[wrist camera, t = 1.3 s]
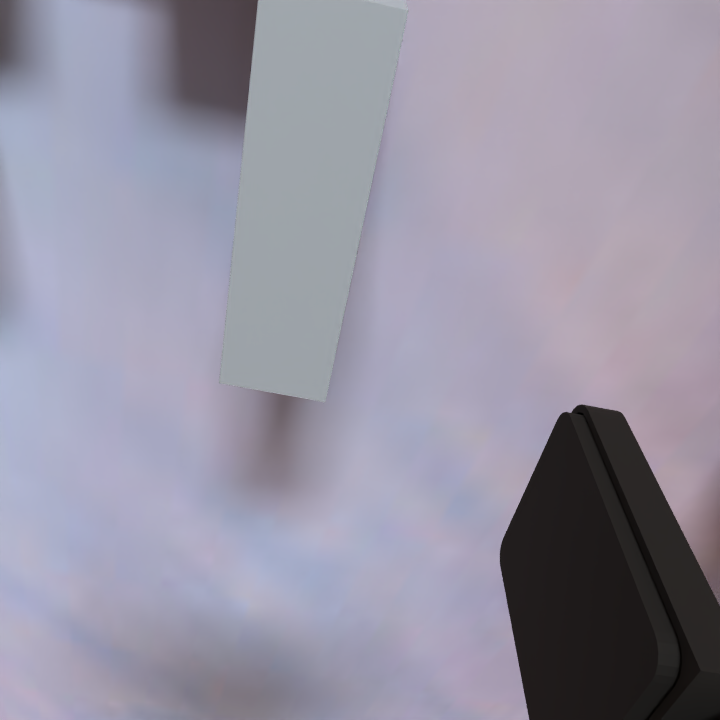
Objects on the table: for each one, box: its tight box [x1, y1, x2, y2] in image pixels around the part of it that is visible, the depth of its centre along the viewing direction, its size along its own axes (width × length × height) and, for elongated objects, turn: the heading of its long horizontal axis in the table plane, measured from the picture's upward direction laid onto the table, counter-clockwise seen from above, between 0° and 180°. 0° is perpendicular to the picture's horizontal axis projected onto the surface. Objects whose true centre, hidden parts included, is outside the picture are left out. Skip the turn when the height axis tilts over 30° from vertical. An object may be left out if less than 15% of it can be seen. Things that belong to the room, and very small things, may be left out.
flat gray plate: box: [219, 0, 408, 402], centre depth 21 cm, size 10×3×12 cm, turn 169°
